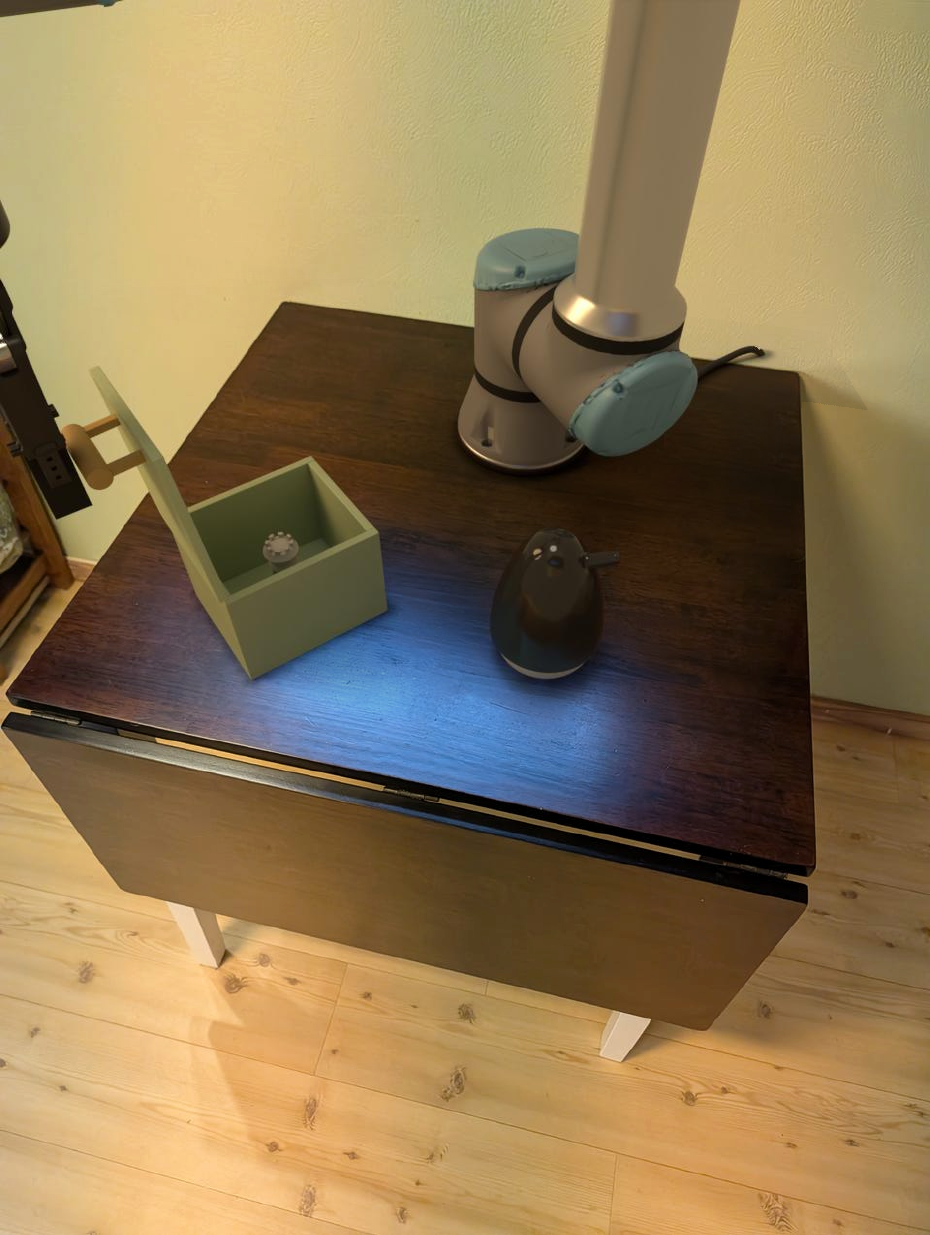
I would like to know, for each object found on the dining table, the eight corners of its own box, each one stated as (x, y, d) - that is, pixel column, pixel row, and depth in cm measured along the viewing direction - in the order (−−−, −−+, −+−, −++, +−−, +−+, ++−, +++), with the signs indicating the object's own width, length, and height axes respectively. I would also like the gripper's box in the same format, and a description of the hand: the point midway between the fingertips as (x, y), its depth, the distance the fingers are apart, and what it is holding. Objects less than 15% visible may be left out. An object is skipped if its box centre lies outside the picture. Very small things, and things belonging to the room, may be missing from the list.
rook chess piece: (278, 579, 84) (263, 521, 78) (321, 585, 83) (310, 527, 77) (263, 613, 81) (246, 556, 75) (308, 620, 81) (295, 563, 74)
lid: (98, 365, 63) (32, 392, 61) (163, 456, 56) (91, 489, 55) (168, 510, 75) (115, 536, 74) (228, 599, 69) (172, 629, 67)
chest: (325, 535, 89) (311, 455, 81) (387, 610, 82) (379, 532, 74) (196, 594, 84) (166, 516, 75) (251, 680, 77) (225, 605, 69)
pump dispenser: (593, 705, 75) (617, 595, 64) (479, 686, 77) (482, 574, 65) (604, 618, 82) (628, 503, 70) (499, 602, 83) (504, 486, 71)
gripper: (-195, 146, 46) (-6, 477, 64) (-149, 244, 39) (48, 583, 57) (-51, 114, 48) (91, 441, 67) (16, 201, 42) (153, 538, 60)
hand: (71, 506), depth 62 cm, fingers closed
